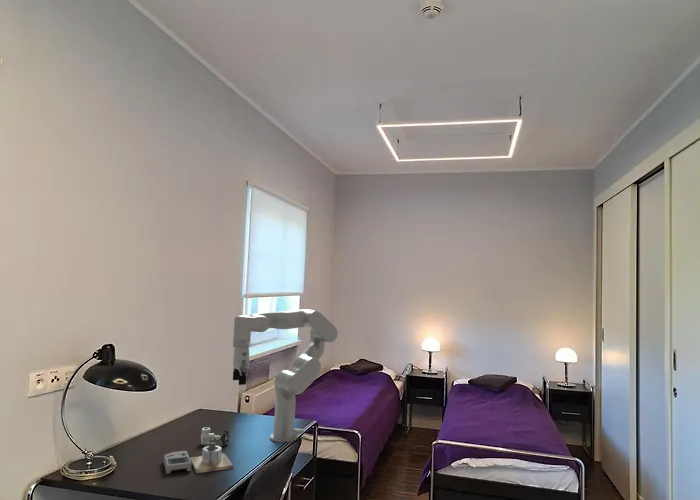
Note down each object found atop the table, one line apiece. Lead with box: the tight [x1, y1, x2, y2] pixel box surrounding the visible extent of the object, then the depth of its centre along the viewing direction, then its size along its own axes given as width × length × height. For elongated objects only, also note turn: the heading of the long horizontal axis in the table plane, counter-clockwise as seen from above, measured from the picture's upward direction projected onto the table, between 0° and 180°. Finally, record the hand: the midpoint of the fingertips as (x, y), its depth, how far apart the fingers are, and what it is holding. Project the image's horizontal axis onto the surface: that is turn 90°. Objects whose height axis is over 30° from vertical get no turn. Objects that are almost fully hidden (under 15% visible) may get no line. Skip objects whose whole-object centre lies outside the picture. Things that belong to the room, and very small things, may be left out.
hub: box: [201, 445, 223, 465], centre depth 194 cm, size 7×7×5 cm
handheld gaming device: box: [163, 450, 192, 475], centre depth 191 cm, size 9×15×4 cm, turn 26°
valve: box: [200, 427, 230, 447], centre depth 218 cm, size 7×7×12 cm
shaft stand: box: [189, 441, 234, 474], centre depth 194 cm, size 14×14×8 cm
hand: (239, 382), depth 216 cm, fingers open, 9 cm apart
